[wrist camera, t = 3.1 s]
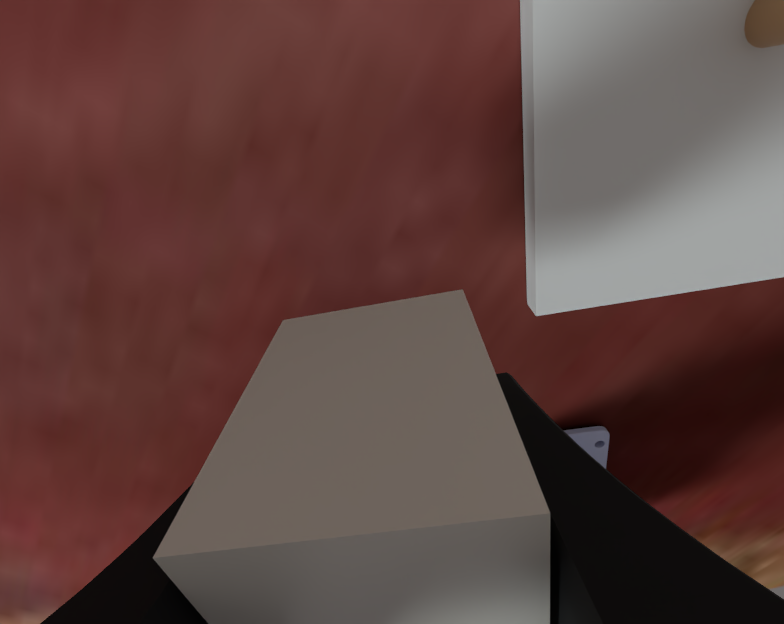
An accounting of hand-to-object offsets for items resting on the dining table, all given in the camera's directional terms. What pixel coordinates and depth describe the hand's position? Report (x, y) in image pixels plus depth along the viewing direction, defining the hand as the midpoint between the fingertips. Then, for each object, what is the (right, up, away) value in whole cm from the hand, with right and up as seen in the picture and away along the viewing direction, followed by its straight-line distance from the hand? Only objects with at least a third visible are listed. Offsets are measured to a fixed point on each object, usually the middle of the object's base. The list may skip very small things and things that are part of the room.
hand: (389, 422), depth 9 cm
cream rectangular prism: (0, +1, +1) cm, 2 cm away
